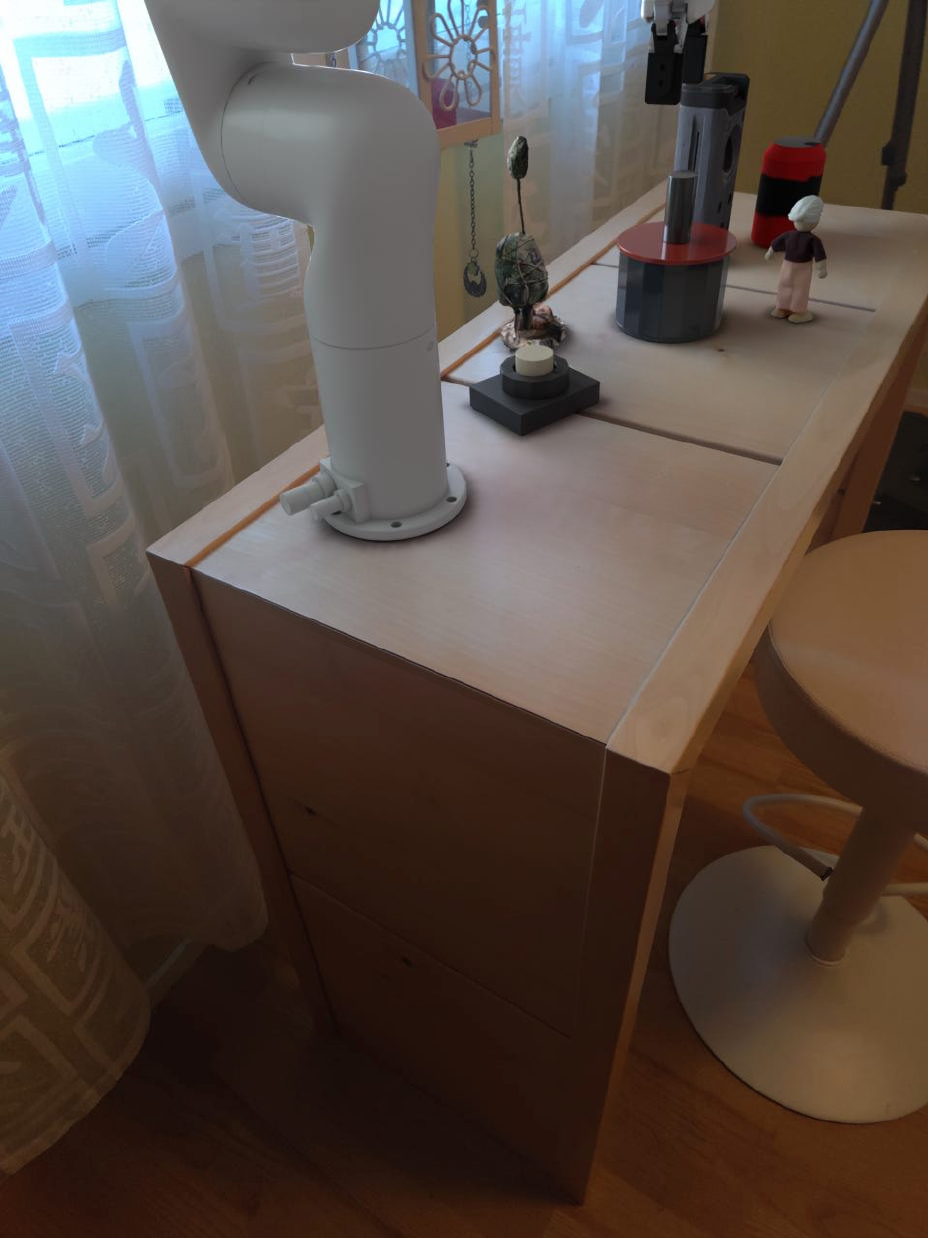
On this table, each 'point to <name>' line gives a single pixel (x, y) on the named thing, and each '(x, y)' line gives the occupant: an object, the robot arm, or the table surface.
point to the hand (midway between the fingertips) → (674, 92)
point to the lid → (678, 230)
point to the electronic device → (712, 141)
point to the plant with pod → (524, 276)
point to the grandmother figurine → (799, 260)
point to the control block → (533, 395)
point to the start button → (534, 360)
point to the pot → (670, 299)
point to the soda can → (786, 184)
